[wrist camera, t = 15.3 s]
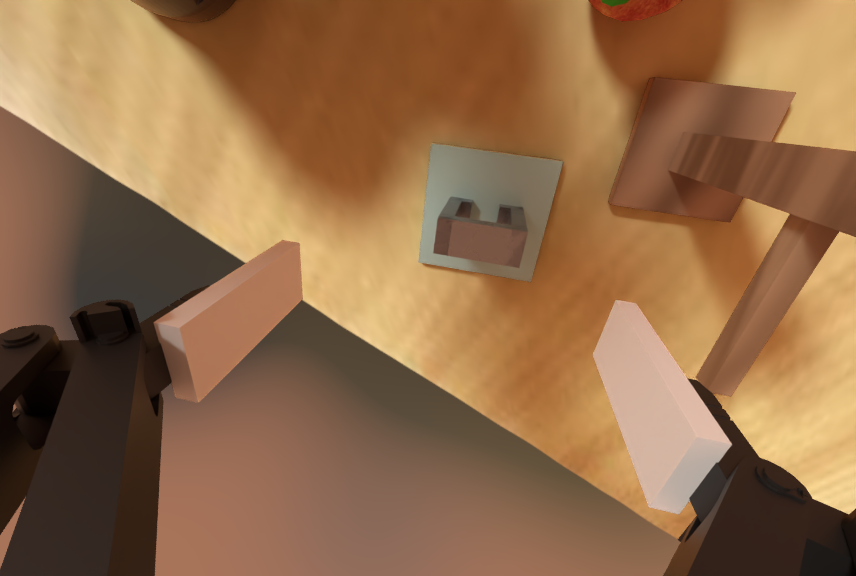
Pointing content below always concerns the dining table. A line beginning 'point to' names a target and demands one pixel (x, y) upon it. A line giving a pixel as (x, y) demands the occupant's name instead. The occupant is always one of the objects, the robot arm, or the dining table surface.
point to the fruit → (632, 8)
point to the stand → (738, 195)
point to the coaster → (489, 199)
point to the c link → (481, 234)
